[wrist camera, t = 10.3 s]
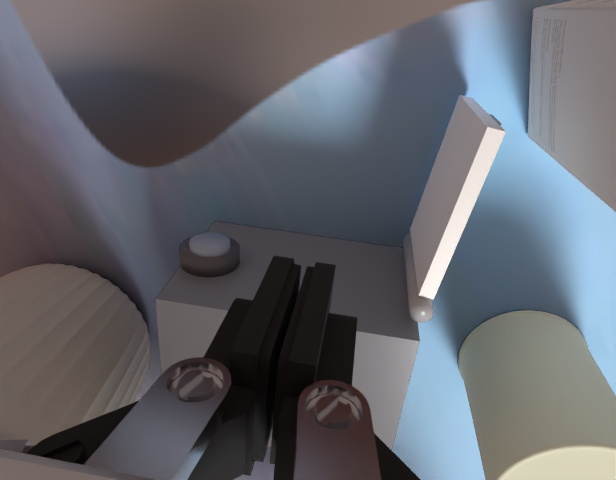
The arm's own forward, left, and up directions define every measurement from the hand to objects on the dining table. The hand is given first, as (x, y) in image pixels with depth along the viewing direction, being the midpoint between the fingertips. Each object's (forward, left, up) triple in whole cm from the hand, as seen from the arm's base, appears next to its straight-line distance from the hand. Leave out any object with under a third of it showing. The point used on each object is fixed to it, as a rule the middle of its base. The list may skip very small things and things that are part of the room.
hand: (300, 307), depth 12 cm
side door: (-6, +2, -19) cm, 20 cm away
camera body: (+2, +13, -19) cm, 23 cm away
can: (-15, +16, -19) cm, 29 cm away
